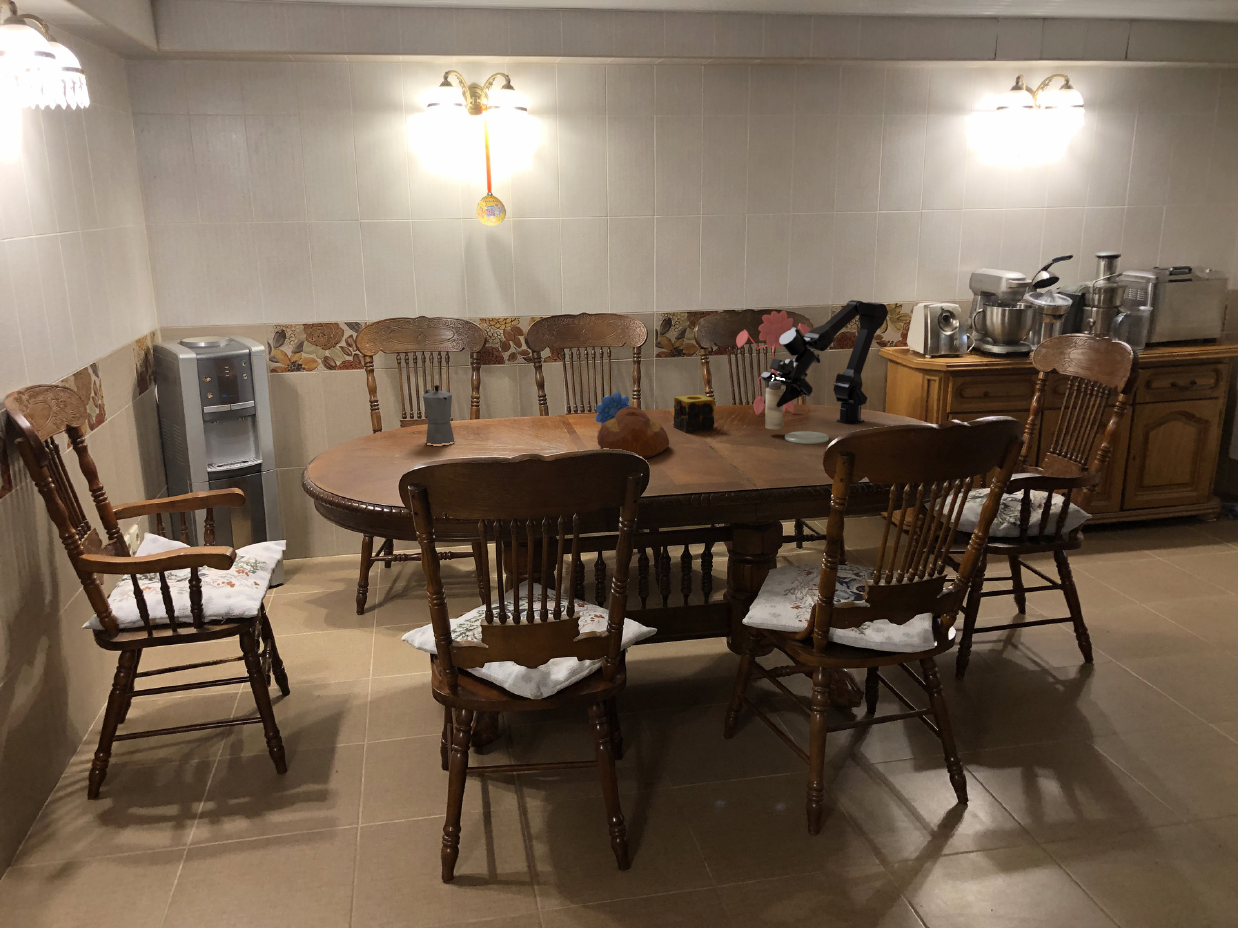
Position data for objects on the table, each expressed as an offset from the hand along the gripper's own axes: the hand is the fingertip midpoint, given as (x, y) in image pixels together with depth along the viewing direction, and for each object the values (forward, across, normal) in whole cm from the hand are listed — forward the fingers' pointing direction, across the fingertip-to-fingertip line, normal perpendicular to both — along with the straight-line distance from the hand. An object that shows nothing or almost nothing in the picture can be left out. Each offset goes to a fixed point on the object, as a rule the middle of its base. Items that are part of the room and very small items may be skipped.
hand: (771, 405), depth 299 cm
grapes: (+31, -37, -18) cm, 51 cm away
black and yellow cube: (+16, -22, -3) cm, 28 cm away
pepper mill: (+4, 0, +6) cm, 7 cm away
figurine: (-7, -21, +21) cm, 31 cm away
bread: (+37, -10, -24) cm, 45 cm away
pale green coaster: (+3, +10, +11) cm, 15 cm away
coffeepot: (+68, -52, -56) cm, 102 cm away
